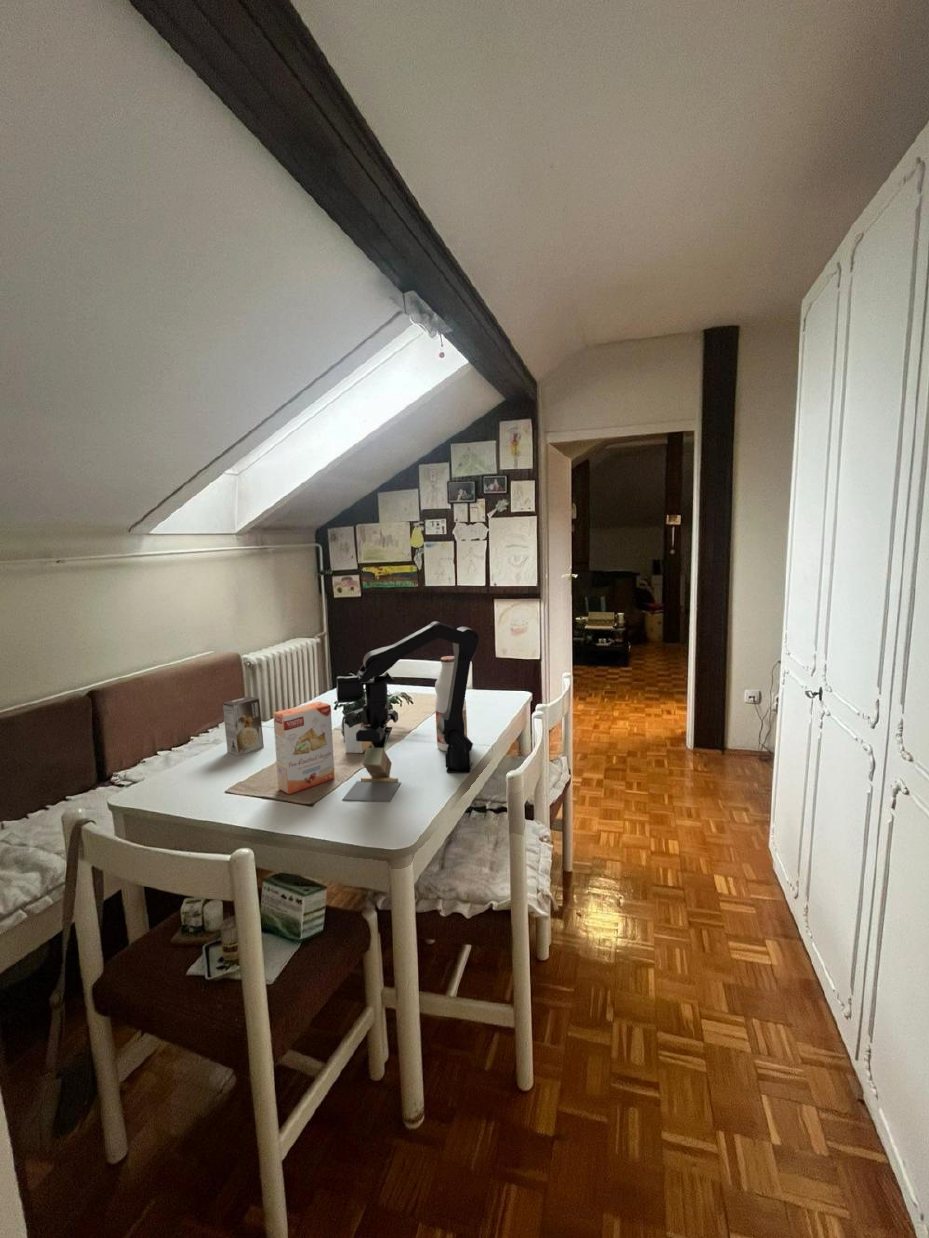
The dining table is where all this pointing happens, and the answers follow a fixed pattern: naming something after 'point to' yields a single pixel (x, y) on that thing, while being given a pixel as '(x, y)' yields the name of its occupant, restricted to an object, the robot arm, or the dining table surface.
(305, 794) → the dining table surface
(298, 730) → the cracker box
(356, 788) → the mat
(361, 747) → the small box
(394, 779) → the kerb
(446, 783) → the dining table surface
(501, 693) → the dining table surface
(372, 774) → the walnut block
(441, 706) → the fruit juice
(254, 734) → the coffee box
